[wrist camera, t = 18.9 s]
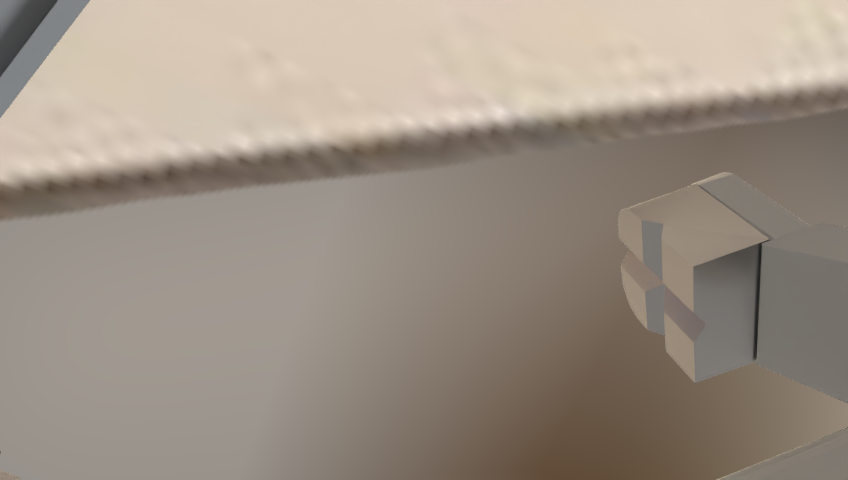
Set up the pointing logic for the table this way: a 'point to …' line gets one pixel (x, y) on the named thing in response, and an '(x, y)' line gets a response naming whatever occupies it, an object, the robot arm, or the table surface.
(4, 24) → the tray
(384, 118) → the table surface
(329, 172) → the table surface
